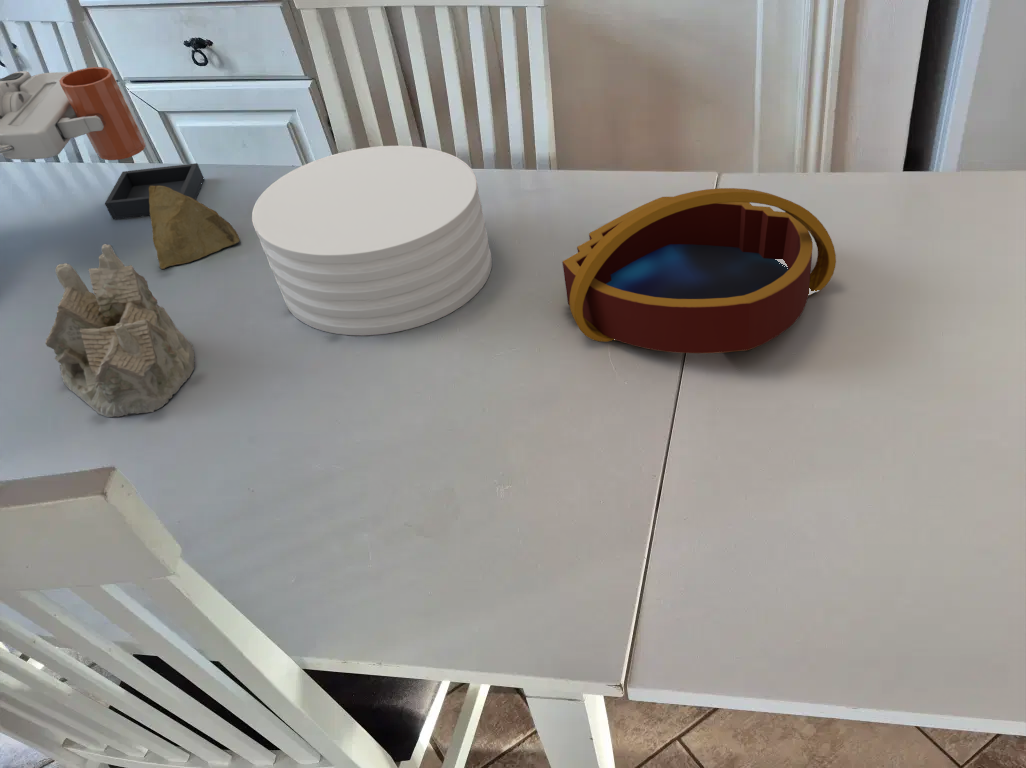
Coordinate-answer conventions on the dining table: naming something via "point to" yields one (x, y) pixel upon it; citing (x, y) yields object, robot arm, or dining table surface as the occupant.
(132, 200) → the tray
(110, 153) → the cup
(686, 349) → the decorative basket
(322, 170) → the plate stack
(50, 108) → the robot arm
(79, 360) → the ceramic cottage
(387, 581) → the dining table surface
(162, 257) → the rock
